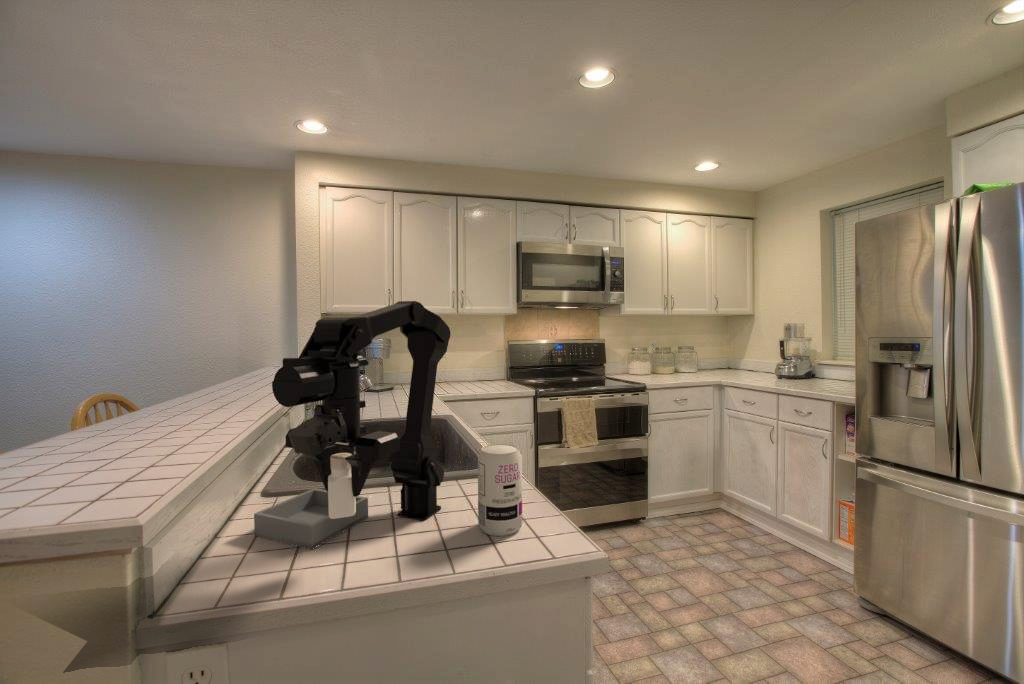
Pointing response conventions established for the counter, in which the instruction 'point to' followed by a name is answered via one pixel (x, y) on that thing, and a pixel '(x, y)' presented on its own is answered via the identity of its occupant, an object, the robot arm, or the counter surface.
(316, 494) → the bin
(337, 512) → the salt shaker
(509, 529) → the supplement can
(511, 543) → the counter surface
